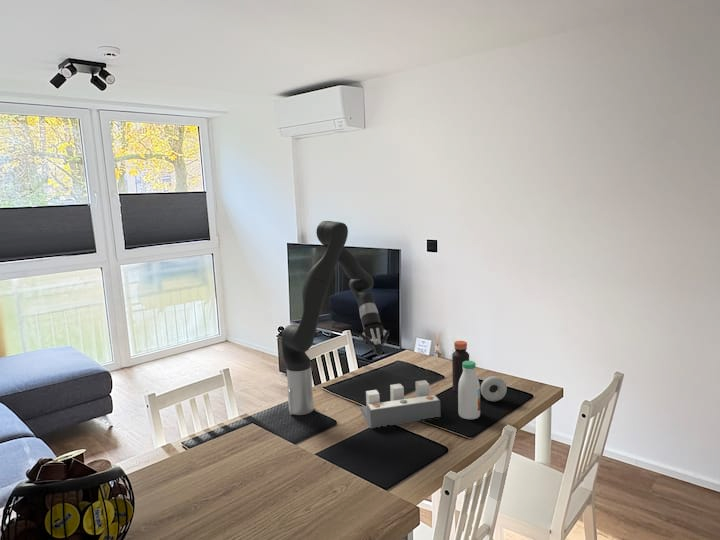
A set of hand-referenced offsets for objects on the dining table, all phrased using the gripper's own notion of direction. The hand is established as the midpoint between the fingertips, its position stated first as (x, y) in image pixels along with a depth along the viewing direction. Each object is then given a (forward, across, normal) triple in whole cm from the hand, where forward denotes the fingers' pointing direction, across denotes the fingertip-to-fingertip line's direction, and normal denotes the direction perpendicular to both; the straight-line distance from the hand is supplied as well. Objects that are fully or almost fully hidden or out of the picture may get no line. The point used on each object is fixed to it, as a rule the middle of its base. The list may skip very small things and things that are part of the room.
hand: (379, 354), depth 194 cm
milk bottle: (+31, +26, -4) cm, 40 cm away
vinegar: (+16, +33, +11) cm, 38 cm away
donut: (+26, +40, +1) cm, 47 cm away
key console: (+24, +2, +2) cm, 24 cm away
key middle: (+21, +2, +2) cm, 21 cm away
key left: (+22, -8, 0) cm, 24 cm away
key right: (+21, +12, +2) cm, 25 cm away
